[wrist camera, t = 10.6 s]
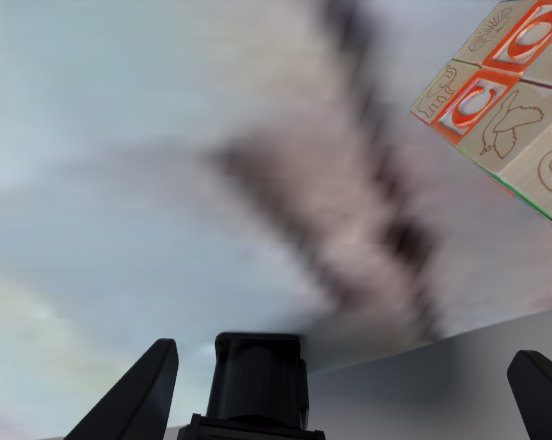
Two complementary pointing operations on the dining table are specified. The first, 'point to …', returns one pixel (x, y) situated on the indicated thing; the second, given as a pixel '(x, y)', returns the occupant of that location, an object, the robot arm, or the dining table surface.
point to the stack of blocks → (501, 101)
